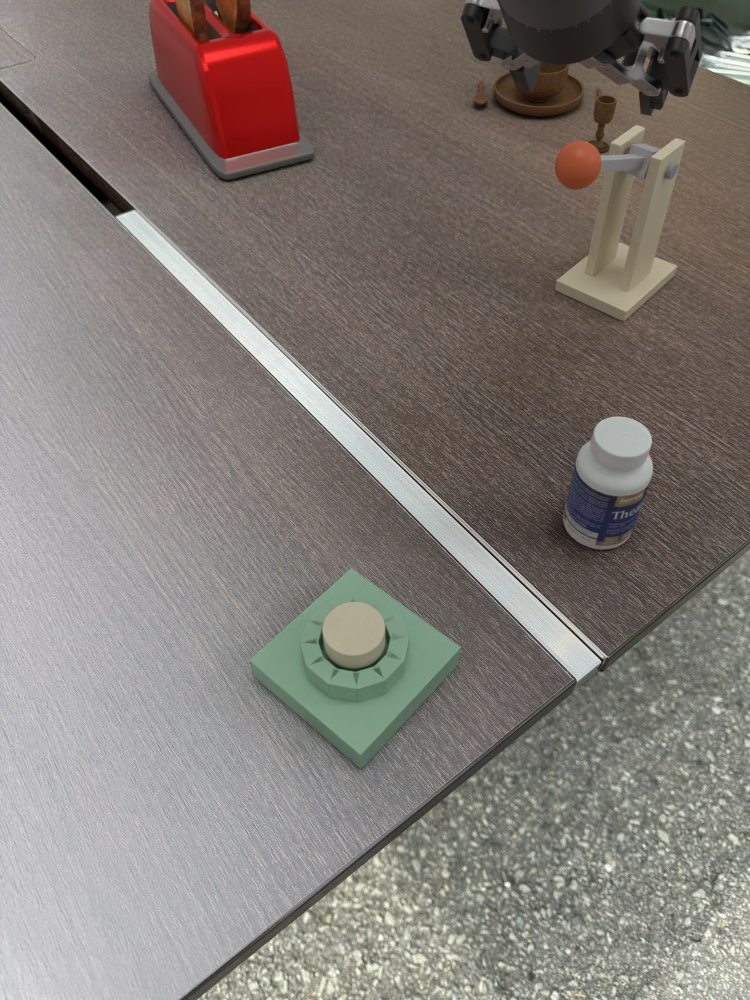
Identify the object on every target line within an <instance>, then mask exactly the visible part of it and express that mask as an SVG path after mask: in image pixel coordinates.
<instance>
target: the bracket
mask: <svg viewBox="0 0 750 1000" xmlns="http://www.w3.org/2000/svg"><path fill="white" fill-rule="evenodd" d="M645 131H646V127H644V126H641V125H638V124H635V125H634V126H633V127H631V128H629V129H628V130H627V131H625V132H624V133H622V134H620V136H618V137H617V138H615V139H614V140H612V141H611V142H610V145H609V149H608V155H623V154H629V151H630V148H631V145H632V144H643V141H644V136H645ZM686 142H687V141H686V140H683V139H681V138H678V137H675V138H674V139H673V140H671V141H670V142H668V143H667V144H666V145H664V146H663V147H662V148H660V149H661V150H659V151H658V152H657V153H655V154H654V155H653V156H651V159H650V163H649V167H648V172H647V176H646V179H644V185H643V188H642V192H641V197H640V201H639V205H638V210H637V214H636V218H635V221H634V226H633V230H632V234H631V238H630V241H629V245H628V244H625V243H623V242H620V240H621V236H622V231H623V228H624V223H625V219H626V215H627V210H628V206H629V201H630V197H631V192H632V189H633V183H634V179H635V176H634V175H631V174H628V173H625V172H623V171H611V172H604V175H603V181H602V185H601V191H600V196H599V199H598V204H597V210H596V215H595V219H594V225H593V230H592V235H591V241H590V245H589V248H588V249H589V250H588V254H587V255H586V256H585V257H583V258H582V259H580V261H578V262H577V263H575V265H573V266H572V267H570V269H569V270H567V271H566V272H565V273H564V274H562V275H561V276H560V277H558V278H557V279H556V280H555V288H554V291H556V292H558V293H561V294H562V295H565V296H567V297H568V298H571V299H574V300H575V301H577V302H579V303H581V304H584V305H585V306H586V305H587V306H588V307H591V308H593V309H595V310H597V311H600V312H602V313H604V314H606V315H608V316H611V317H613V318H615V319H617V320H619V321H621V322H624V323H625V322H626V320H628V319H629V318H630V317H631V316H632V315H633V314H635V312H636V311H637V310H639V309H640V308H641V307H642V306H643V305H644V304H645V303H646V302H647V301H649V300H650V299H651V298H652V297H653V296H654V295H655V294H656V293H657V292H658V291H659V290H661V289H662V288H663V287H664V286H665V285H666V284H667V283H669V282H670V281H671V280H672V279H673V278H674V277H675V276H676V272H677V270H678V265H676V264H674V263H672V262H669V261H666V260H664V259H662V258H659V257H657V256H656V253H657V249H658V246H659V242H660V239H661V235H662V231H663V228H664V224H665V220H666V216H667V212H668V209H669V206H670V202H671V198H672V194H673V190H674V187H675V183H676V180H677V175H678V172H679V168H680V166H681V165H680V164H681V161H682V157H683V154H684V150H685V146H686Z"/></svg>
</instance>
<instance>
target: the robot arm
mask: <svg viewBox="0 0 750 1000" xmlns="http://www.w3.org/2000/svg"><path fill="white" fill-rule="evenodd" d="M502 19H503V20H502ZM460 21H461V24H462V27H463V29H464V32H465V35H466V38H467V41H468V44H469V46H470V49H471V52H472V55H473V57H474V58H475V59H477V60H479V61H481V62H491V61H492V57H494V58H497V59H500V66H501V67H502V68H504V69H506V70H507V71H508V72H510V74H511V76H512V79H513V80H514V81H515V82H516V83H519V85H520V88H521V90H522V91H523V92H529V93H532V92H533V90H534V88H535V84H536V81H537V78H538V75H539V72H540V69H541V62H543V63H547V64H552V65H568V64H569V65H573V64H578V63H579V64H581V65H582V66H584V67H585V68H586V69H588V70H591V69H594V70H596V71H597V72H599V73H600V74H602V75H603V76H605V78H608V79H609V80H610V81H611V82H613V83H614V84H615V85H617V86H625V85H627V86H628V85H631V86H632V87H634V88H635V89H636V90H638V100H639V111H640V115H645V116H649V117H651V116H652V114H653V113H654V110H657V111H661V110H662V109H663V108H664V105H665V103H666V100H667V96H668V94H670V95H672V96H674V97H677V98H686V97H688V96H689V94H690V91H691V88H692V85H693V83H694V79H695V77H696V74H697V72H698V71H697V70H698V68H699V65H700V62H701V60H702V57H703V47H702V46H703V45H702V30H701V28H702V27H701V12H700V10H699V9H698V8H695V7H693V6H690V5H689V6H688V5H685V6H684V5H683V6H680V7H679V8H678V9H677V13H676V15H675V17H672V18H671V19H668V18H661V17H660V18H659V17H652V16H651V15H650V11H649V9H648V8H647V7H646V6H645V5H644V4H643V3H642V1H641V0H465V2H464V6H463V9H462V13H461V16H460ZM503 21H504V23H505V26H506V27H503ZM621 58H622V59H621ZM619 59H621V62H619ZM646 59H649V61H648V65H647V68H646V70H644V67H645V63H646Z"/></svg>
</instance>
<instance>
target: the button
mask: <svg viewBox="0 0 750 1000" xmlns="http://www.w3.org/2000/svg"><path fill="white" fill-rule="evenodd" d="M322 632H323V641H324V648H325V651H326V653H327V655H328V657H329V658H330V659H331V660H332V661H333V662H334V663H336V664H337V665H339V666H342V667H344V668H349V669H358V668H363V667H366V666H369V665H371V664H372V663H374V662H375V661H376V660H377V659H378V658H379V657H380V656H381V654H382V653H383V651H384V648H385V623H384V620H383V618H382V616H381V614H380V613H379V612H378V611H377V610H376V609H375V608H373V607H372V606H370V605H368V604H365V603H361V602H348V603H344V604H341V605H339V606H337V607H335V608H334V609H333V610H332V611H331V612H330V613H329V614H328V615H327V616H326V618H325V620H324V623H323V627H322Z"/></svg>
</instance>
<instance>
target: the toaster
mask: <svg viewBox="0 0 750 1000" xmlns="http://www.w3.org/2000/svg"><path fill="white" fill-rule="evenodd" d="M148 10H149V11H148V17H149V26H150V35H151V42H152V48H153V56H154V62H155V67H156V70H153V71H150V72H149V73H148V75H147V78H148V81H149V83H150V85H151V88H152V89H153V91H154V92H155V94H156V96H158V98H159V100H160V101H161V102H162V103H163V105H164V106H165V107H166V109H167V111H168V112H169V113H170V114H171V116H172V117H173V118H174V120H175V121H176V123H177V124H178V126H179V127H180V128H181V129H182V131H183V132H184V133H185V135H186V136H187V138H188V139H189V140H190V142H191V143H192V144H193V146H194V147H195V148H196V149H197V151H198V153H199V154H200V156H201V157H202V158H203V159H204V161H205V162H206V164H207V166H209V167H210V169H211V170H212V171H213V172H214V173H215V174H216V175H217V176H218V177H219V178H220V179H222V180H225V181H232V180H236V179H239V178H244V177H248V176H251V175H255V174H260V173H263V172H267V171H272V170H275V169H276V170H277V169H279V168H284V167H288V166H291V165H295V164H300V163H302V162H306V161H310V160H313V159H314V157H315V147H314V145H313V144H312V142H311V141H310V140H309V138H308V137H307V136H306V135H305V134H304V133H303V132H302V131H301V130H300V127H299V121H298V115H297V108H296V102H295V94H294V89H293V83H292V79H291V74H290V73H291V72H290V69H289V68H290V67H289V64H288V63H289V62H288V59H287V56H286V53H285V51H284V49H283V46H282V42H281V41H280V38H279V36H278V34H277V33H276V32H275V31H274V30H273V29H272V28H271V27H270V25H268V24H267V23H266V22H265V21H264V20H263V19H262V18H261V17H260V16H258V14H257V13H256V12H254V10H252V5H251V0H149V9H148Z"/></svg>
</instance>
